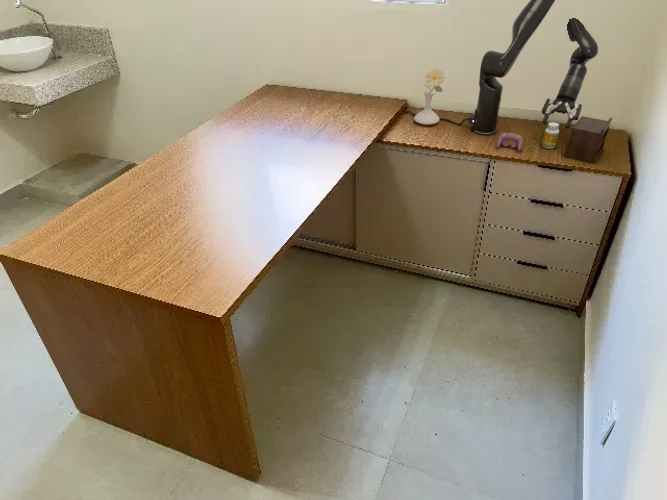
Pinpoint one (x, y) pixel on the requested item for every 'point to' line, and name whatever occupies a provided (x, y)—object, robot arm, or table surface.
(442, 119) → the robot arm
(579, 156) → the dark wooden box
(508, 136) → the video game controller
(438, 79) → the flower in vase
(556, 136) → the supplement bottle
